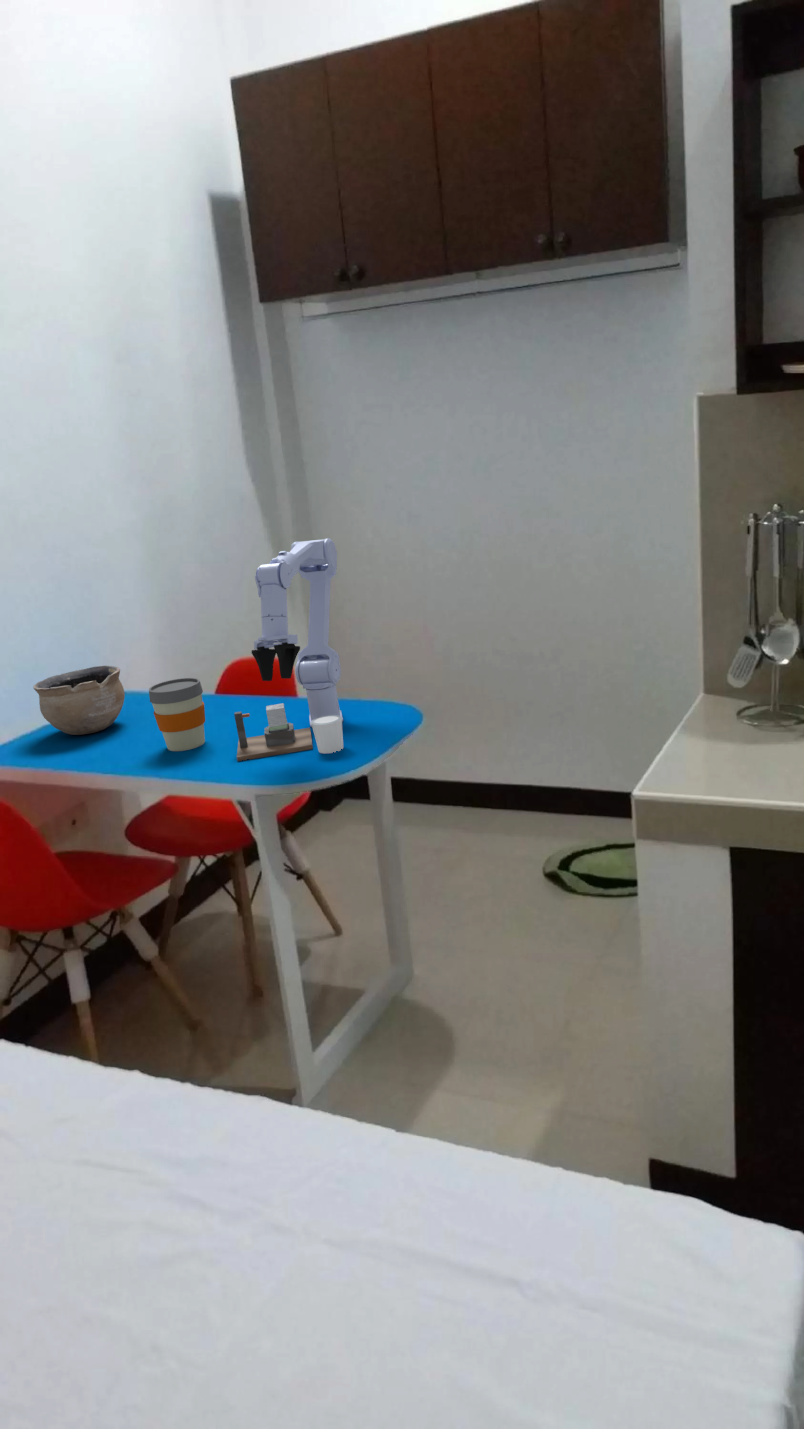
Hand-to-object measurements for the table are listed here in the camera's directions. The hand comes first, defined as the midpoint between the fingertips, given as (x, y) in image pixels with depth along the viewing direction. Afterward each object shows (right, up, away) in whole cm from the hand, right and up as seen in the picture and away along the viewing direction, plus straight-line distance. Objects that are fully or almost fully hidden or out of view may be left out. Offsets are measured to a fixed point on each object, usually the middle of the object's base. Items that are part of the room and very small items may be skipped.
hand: (276, 679), depth 238 cm
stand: (-2, -15, +12) cm, 19 cm away
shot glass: (+12, -16, +4) cm, 20 cm away
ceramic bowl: (-55, -12, +49) cm, 74 cm away
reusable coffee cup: (-24, -15, +23) cm, 37 cm away
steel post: (0, -13, +12) cm, 18 cm away
